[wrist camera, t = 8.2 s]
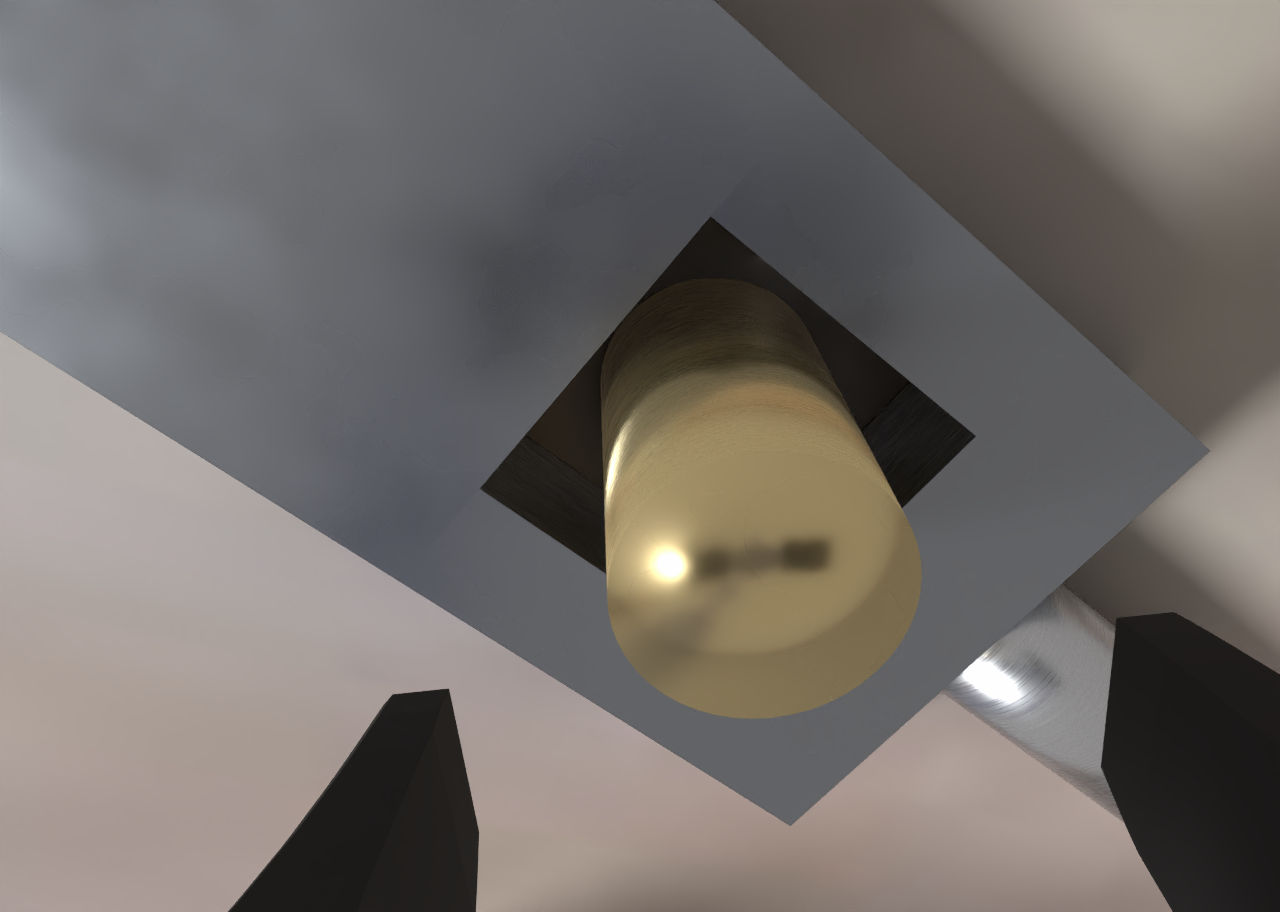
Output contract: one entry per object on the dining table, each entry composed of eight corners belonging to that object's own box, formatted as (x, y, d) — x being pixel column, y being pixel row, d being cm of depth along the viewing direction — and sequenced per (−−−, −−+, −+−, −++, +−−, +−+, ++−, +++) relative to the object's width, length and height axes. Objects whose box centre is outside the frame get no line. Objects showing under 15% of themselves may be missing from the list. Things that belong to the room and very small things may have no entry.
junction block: (1319, 552, 23) (1418, 639, 20) (960, 850, 26) (1003, 959, 23) (-150, -780, 14) (-331, -947, 11) (-434, -68, 17) (-630, -63, 14)
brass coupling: (865, 367, 21) (987, 569, 14) (720, 518, 22) (774, 765, 16) (698, 231, 19) (753, 387, 13) (555, 400, 21) (543, 616, 14)
